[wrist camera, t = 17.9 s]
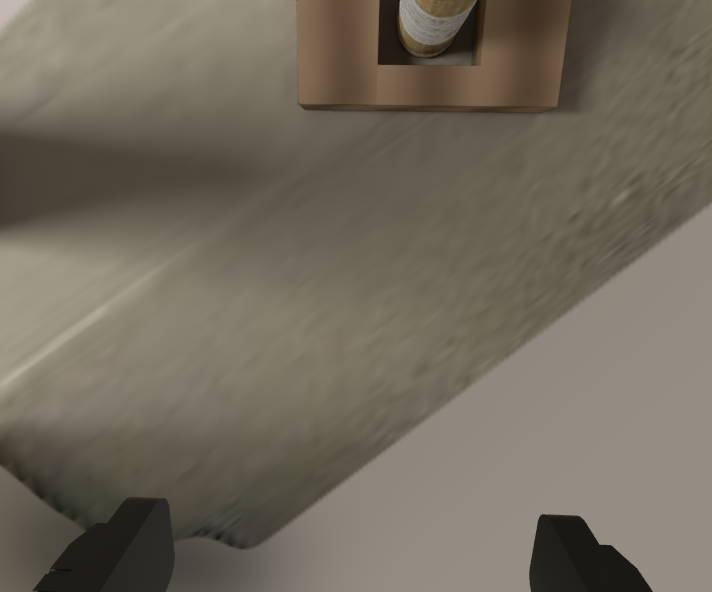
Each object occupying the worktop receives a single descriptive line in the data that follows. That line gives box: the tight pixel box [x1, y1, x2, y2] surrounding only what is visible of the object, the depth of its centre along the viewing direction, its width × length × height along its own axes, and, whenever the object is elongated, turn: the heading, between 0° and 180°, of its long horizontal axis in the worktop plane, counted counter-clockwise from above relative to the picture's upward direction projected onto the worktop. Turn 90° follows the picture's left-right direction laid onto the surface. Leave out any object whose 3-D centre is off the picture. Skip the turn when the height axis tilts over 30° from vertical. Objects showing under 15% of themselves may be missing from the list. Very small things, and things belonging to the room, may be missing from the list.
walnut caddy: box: [296, 0, 572, 113], centre depth 29 cm, size 18×12×3 cm, turn 89°
